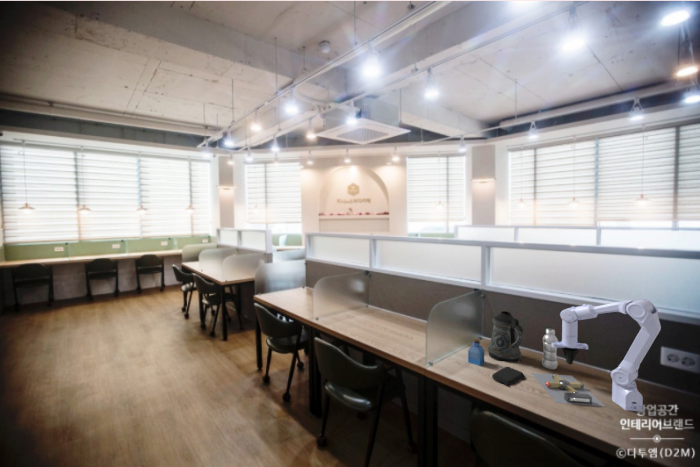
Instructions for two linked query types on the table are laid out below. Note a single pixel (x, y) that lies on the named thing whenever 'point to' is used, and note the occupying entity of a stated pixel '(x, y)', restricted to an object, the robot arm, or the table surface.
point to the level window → (578, 398)
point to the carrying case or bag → (508, 376)
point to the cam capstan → (564, 384)
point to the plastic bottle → (549, 350)
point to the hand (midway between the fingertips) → (569, 363)
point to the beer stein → (506, 338)
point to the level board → (559, 393)
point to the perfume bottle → (476, 353)
